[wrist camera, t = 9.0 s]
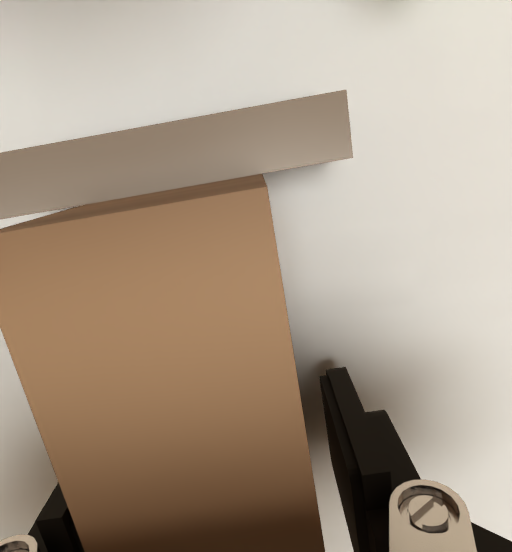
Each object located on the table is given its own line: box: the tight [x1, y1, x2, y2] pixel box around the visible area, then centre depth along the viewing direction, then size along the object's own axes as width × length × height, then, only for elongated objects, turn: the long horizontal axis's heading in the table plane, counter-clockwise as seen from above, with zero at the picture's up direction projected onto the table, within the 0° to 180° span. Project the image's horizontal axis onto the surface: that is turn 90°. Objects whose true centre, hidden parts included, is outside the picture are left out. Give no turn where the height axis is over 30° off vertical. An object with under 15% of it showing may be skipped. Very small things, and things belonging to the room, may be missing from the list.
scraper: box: [0, 90, 353, 552], centre depth 9 cm, size 11×7×6 cm, turn 10°
